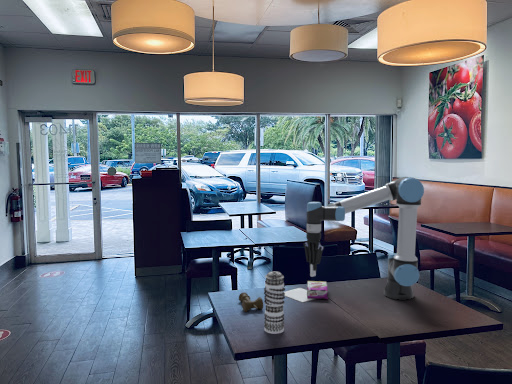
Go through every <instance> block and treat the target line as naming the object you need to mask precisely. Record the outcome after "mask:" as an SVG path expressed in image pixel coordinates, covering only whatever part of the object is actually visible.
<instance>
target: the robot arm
mask: <svg viewBox="0 0 512 384" xmlns="http://www.w3.org/2000/svg"><path fill="white" fill-rule="evenodd" d="M424 194H425V188H424V185H423V183H422V182H421V181H420V180H419V179H418V178H415V177H409V176H402V177H399V178H397V179H394V180H392V181H389V182H387V183H385V185H384V186H382V187H378V188H375V189H372V190H370V191H366V192H364V193H360V194H358V195H354V196H352V197H348V198H345V199H342V200H339V201H336V202H331V203H328V204H327V205H326V206H325V205H322V202H320V201H309V202H307V204H306V233H305V234H306V236H305V237H306V241H305V242H304V243H302V244H303V247H304V253H305V259H306V262H307V263H309V272H310V273H309V276H310V277H312V278H313V277H316V275H317V270H318V265H319V264H320V263H321V261H322V256H323V251H324V249H325V246H322V245H321V244H322V243H321V240H322V233H321V232H322V221H325V222H326V221H330V222H344V221H345V219H346V214H349V213H352V212H356V211H357V210H361V209H365V208H368V207H370V206H374V205H378V204H380V203H383V202H387V201H389V200H390V201H396V205H397V206H398V208H399V209H398V224H397V227H398V228H397V242H396V243H397V246H396V247H397V248H396V253H395V252H393V253H389V255H388V258H387V282H386V284H385V287H384V289H383V295H384V297H386V296H387V298H389V299H393V300H397V299H399V300H398V301H407V300H406V299H409V300H412V299H413V298H414V291H413V285H415V284H416V283H417V282H418V281H419V279H420V271H419V269H418V268H419V267H418V265H419V264H418V263H419V259H418V257H417V256H416V241H417V240H416V239H417V225H418V224H417V222H418V209H419V207H420V206H422V198H423V196H424ZM411 298H412V299H411Z"/></svg>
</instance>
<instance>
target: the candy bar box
mask: <svg viewBox="0 0 512 384" xmlns="http://www.w3.org/2000/svg"><path fill="white" fill-rule="evenodd" d="M306 290H307V298H313V300H316V299H318V300H319V299H320V300H321V299H322V300H328V299H329V288H328V282H327V281H321V280H319V281H315V280H306Z"/></svg>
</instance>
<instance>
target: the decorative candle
mask: <svg viewBox="0 0 512 384" xmlns="http://www.w3.org/2000/svg"><path fill="white" fill-rule="evenodd" d="M264 277H265V286H264V287H263V295H264V296H263V297H264V300H263V303H264V305H265V311H264V317H263V319H264V321H263V322H264V324H263V325H264V329H263V330H264V331H265V333H267V334H274V335H275V334H277V335H278V334H281V333H283V332H284V330H285V329H284V328H285V321H284V320H285V314H284V305H285V300H284V299H285V298H286V296H284V295H285V293H284V292H285V291H286V288H285V287H286V285H285V282H284V278H285V276H284V275H283V274H282V273H281V272H280V271H269V272H268V273H266V274H265V276H264Z"/></svg>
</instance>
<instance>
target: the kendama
mask: <svg viewBox="0 0 512 384" xmlns="http://www.w3.org/2000/svg"><path fill="white" fill-rule="evenodd" d="M238 300H239V302H241V307H242V310H243V312H245V313H247V312H249V310H252V309H255V310H261V311H262V310H263V309H264V300H263V298H262V297H260V296H259V297H257V298H256V299H254V300H251V296H250V295H248V293H247V292H241V293H240V294H239V296H238Z"/></svg>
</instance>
